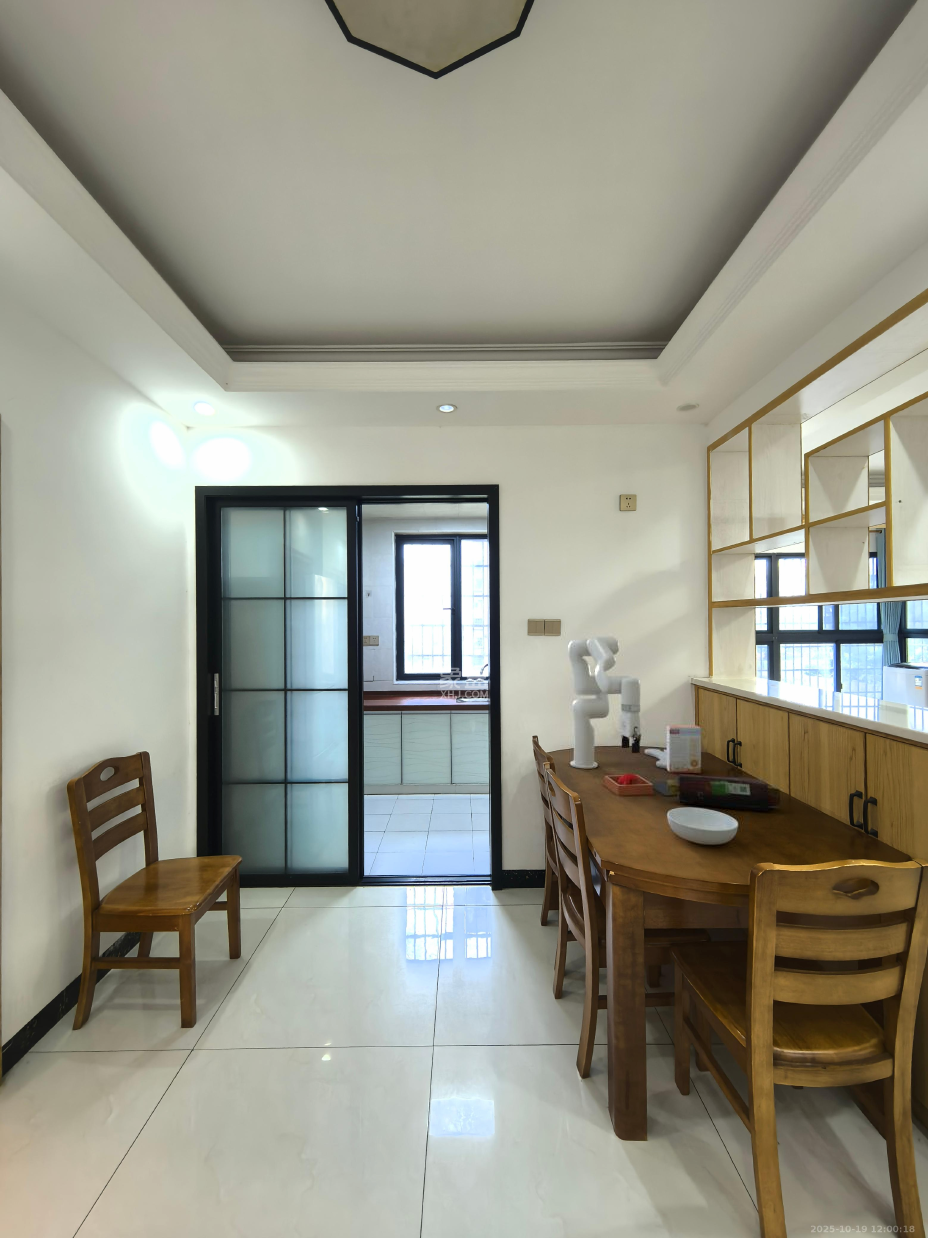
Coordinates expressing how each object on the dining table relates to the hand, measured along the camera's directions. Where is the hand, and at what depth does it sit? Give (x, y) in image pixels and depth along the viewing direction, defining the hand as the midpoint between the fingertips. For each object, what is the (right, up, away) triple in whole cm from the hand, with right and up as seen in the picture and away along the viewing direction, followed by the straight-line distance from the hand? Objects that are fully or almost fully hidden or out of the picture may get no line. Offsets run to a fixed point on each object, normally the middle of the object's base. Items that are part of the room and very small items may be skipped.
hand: (630, 750), depth 240 cm
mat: (+17, -16, +2) cm, 24 cm away
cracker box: (+32, -16, +29) cm, 47 cm away
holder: (+34, -16, +50) cm, 62 cm away
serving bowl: (+8, -17, -53) cm, 56 cm away
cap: (-1, -16, 0) cm, 16 cm away
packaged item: (+29, -17, -19) cm, 38 cm away
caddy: (-1, -16, 0) cm, 16 cm away
